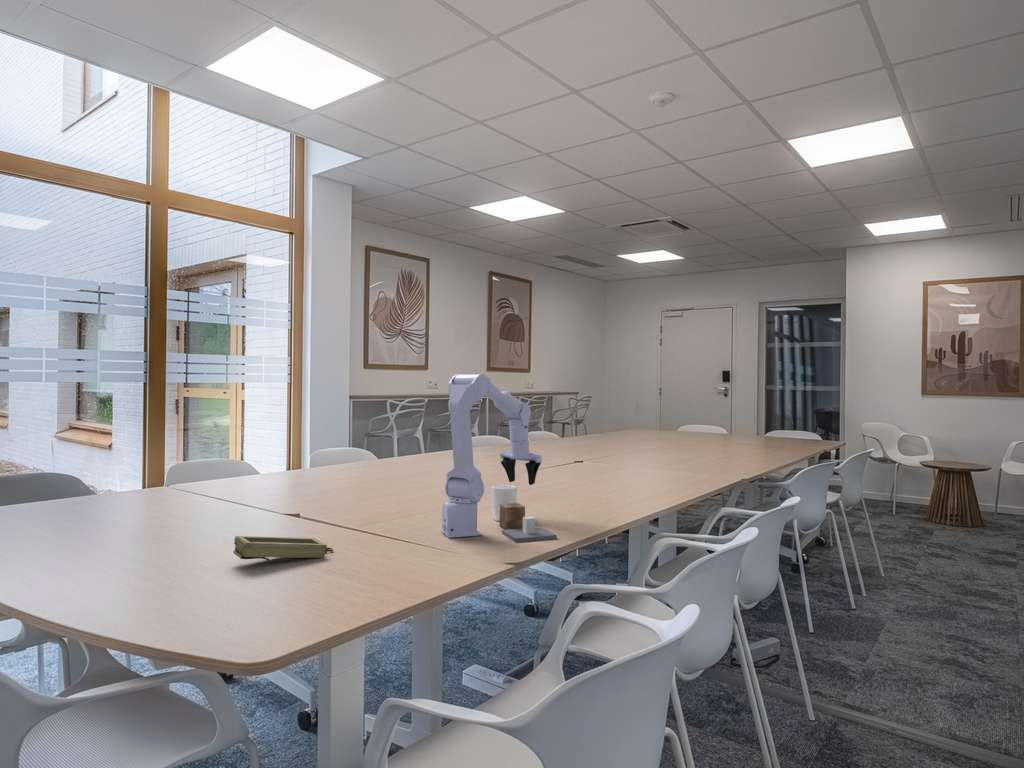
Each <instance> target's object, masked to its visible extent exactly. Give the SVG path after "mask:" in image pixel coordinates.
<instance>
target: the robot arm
mask: <svg viewBox="0 0 1024 768" xmlns="http://www.w3.org/2000/svg"><path fill="white" fill-rule="evenodd" d="M448 394H449V395H448V397H449V415H450V416H449V417H450V429H451V430H450V431H451V433H450V434H451V444H452V445H451V446H452V455H453V456H452V459H453V467H452V468H451V469H450V470H449V471H448V472H447V473H446V480H445V481H446V482H445V486H444V491H445V494H446V497H448V500H449V501H448V502H444V503H443V504H442V507H441V508H442V510H441V530H440V531H441V532H442V533H443V534H444V535H445V536H446V538H448V539H451V538H463V537H476V536H477V537H478V536H483V533H482V532H480V530H478V503H479V502H481V499H482V498H483V496H484V494H485V485H484V481H483V479H482V473H481V472H480V470H479V469H478V468H476V466H475V464H474V454H473V453H474V451H473V439H472V425H471V421H472V420H471V409H472V407H473V406H474V405H476V404H477V403H478V402H480V401H481V400H482V399H483V398H484V397H486V398H488V399H489V400H491V401H492V402H493V405H494V407H495V408H497V409H498V410H499V411H500V412H502V413H503V414H504V417H505V419H506V420H508V422H509V423H508V425H509V440H510V441H509V442H510V451H502V452H499V459H500V460H501V461H500V465H501V466H502V467H503V468H504V471H505V473H506V477H507V478H508V482H509V483H514V482H515V481H516V463H517V462H516V461H525V462H526V463H524V465H525V467H526V470H527V471H526V472H527V476H528V477H527V479H528V484H529V486H532V485H534V484H535V482H536V478H537V474H538V473H537V472H538V471H539V468H540V466H541V463H542V461H543V459H542V454H535V453H532V452H530V441H529V440H530V439H529V425H530V418H531V414H532V410H531V407H530V406H529V404H528V403H527V402H525V401H520V400H519V399H518V397H515V396H514V395H512V394H511V391H509V390H502V391H501V390H500V389H499V388H498V387H497V386H495V385H494V384H493V383H492V381H491V378H490V377H489V376H487V375H486V374H485V373H479V374H472V373H471V374H469V373H467V374H465V373H462V374H461V373H455V374H454V375H452V378H451V379H450V380H449V382H448Z"/></svg>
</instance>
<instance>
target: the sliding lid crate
mask: <svg viewBox="0 0 1024 768" xmlns="http://www.w3.org/2000/svg"><path fill="white" fill-rule="evenodd" d="M523 517H526V506H525V505H522V504H520V503H519V502H516V503H510V504H500V521H499V528H500V529H501V530H507V529H521V528H523Z"/></svg>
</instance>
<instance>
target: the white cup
mask: <svg viewBox="0 0 1024 768" xmlns="http://www.w3.org/2000/svg"><path fill="white" fill-rule="evenodd" d="M517 497H518V486H516V485H511V484H494V485H492V486H491V505H492V506H491V507H492V508H491V509H492V519H493V520H494V521H496V522H500V504H510V503H517V499H518V498H517Z"/></svg>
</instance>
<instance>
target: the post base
mask: <svg viewBox="0 0 1024 768" xmlns="http://www.w3.org/2000/svg"><path fill="white" fill-rule="evenodd" d="M501 534H502V535H504V537H507V538H508V539H509V540H510V541H513V542H514V543H521V542H522V543H523V542H524V543H525V542H534V541H543V540H544V541H547V540H557V537H558V536H557V534H556V533H554V532H552V531H550V530H548V529H546V528H544V527H543V526H537V527H536V518H535V517H534V516H525V517H523V528H521V529H507V530H504V529H501Z"/></svg>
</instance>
